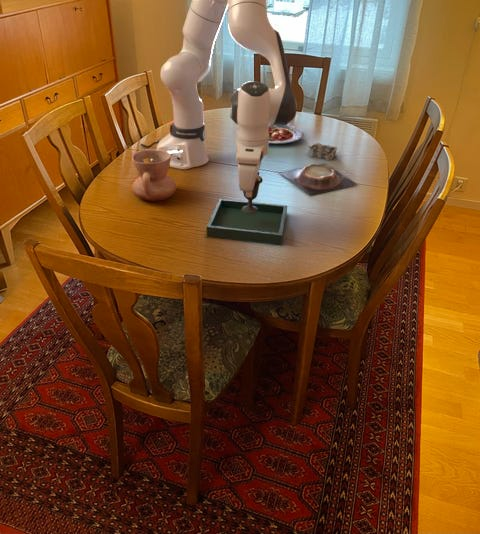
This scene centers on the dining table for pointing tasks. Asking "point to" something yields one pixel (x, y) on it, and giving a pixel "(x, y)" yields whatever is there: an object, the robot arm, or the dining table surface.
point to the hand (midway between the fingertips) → (250, 191)
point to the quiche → (318, 178)
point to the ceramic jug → (153, 175)
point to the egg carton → (322, 151)
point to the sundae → (249, 208)
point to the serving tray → (248, 222)
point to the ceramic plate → (283, 134)
